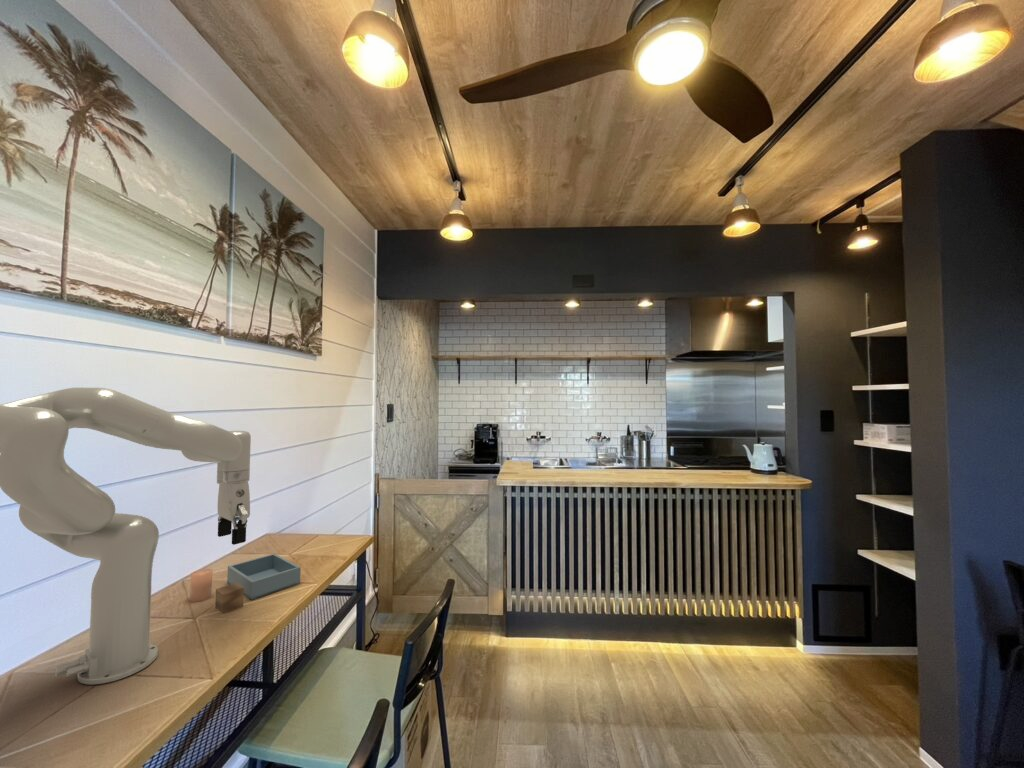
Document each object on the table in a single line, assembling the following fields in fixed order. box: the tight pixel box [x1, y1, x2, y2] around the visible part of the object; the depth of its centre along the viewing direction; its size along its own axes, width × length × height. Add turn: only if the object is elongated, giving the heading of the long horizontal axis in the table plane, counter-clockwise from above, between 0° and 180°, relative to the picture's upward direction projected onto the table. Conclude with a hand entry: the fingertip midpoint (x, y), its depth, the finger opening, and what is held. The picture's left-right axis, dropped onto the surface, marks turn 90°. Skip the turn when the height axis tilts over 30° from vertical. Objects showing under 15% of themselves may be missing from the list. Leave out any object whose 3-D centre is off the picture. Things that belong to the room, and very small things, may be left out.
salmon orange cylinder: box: [189, 568, 213, 603], centre depth 121 cm, size 5×5×7 cm
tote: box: [226, 553, 302, 601], centre depth 130 cm, size 14×18×5 cm
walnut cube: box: [214, 583, 245, 614], centre depth 116 cm, size 5×5×5 cm
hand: (231, 539), depth 116 cm, fingers open, 9 cm apart
